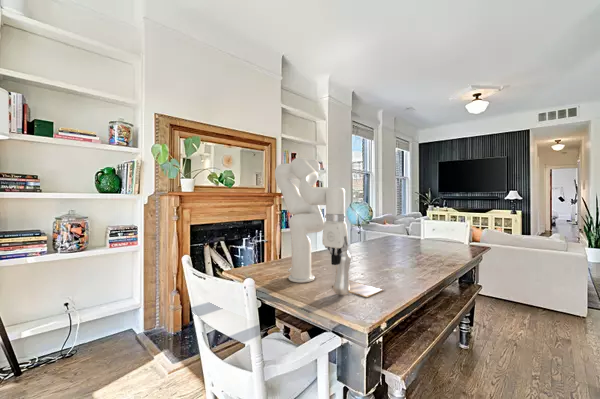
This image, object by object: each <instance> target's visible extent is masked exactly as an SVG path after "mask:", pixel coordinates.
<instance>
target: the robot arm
mask: <svg viewBox="0 0 600 399" xmlns="http://www.w3.org/2000/svg"><path fill="white" fill-rule="evenodd" d="M320 170H321V164H320V162H319V161H318V160H317V159H316V158H314V157H313V158H311V157H295V158H294V159H292V161H291V162H290V163H280V164H278V165H277V166H276V167H275V169H274V179H275V183H276V185H277V187H278V188H279V190H280V192H281V194H282V197H283V200H284V203H285V206H286V210H287V212H288V213H289V214H290V215H291V217H290V218H289V222H288V223H289V224H288V225H289V231H290V240H291V242H290V243H291V267H290V268H288V269H287V272H288V273H290V274H289V276H288V281H290V282H293V283H299V284H300V283H303V284H304V283H310V282H313V281H314V280H315V275H314V274H312V241H311V239H310V238H309V236H308V234H313V233H320V232H322V239H321V240H322V245H323V246H324V248H325V249H327V250H328V251H329V254H330V256H331V257H330V258H331V259H330V260H331V263H330V264H331V265H332V266H336V265H338V264H340V254H341V253H342V252H343V251H347V246H348V247H349V232H348V226H347V222H346V190H345V188H343V187H340V186H333V187H331V186H330V187H327V186H326V187H325V186H314V185H315V184H316V183H317V182H318V180H319V173H320ZM293 181H300V182H299V185H298V186H297V185H296V184H295V182H294V183H293ZM320 206H325V215H324V216H323V213H322V210H321V208H320ZM324 218H325V219H324Z"/></svg>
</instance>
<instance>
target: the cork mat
mask: <svg viewBox="0 0 600 399" xmlns="http://www.w3.org/2000/svg"><path fill="white" fill-rule="evenodd" d="M349 286H350V290H349V294H352V295H353V294H354V295H356V296H361V297H363V298H370V297H372V296H374V295H377V294H379V293H382V292H383V291H384V289H382V288H378V287H376V286H372V285H367V284H364V283H361V282H357V281H354V280H350V279H349ZM332 288H333V285H332Z"/></svg>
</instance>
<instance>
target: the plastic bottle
mask: <svg viewBox="0 0 600 399" xmlns="http://www.w3.org/2000/svg"><path fill="white" fill-rule="evenodd" d="M351 262H352V256H351V254H350V252H349V245H348V246H347V251H343V252H342V253H341V254H340V264H338V265H335V274H334V282H333V285H332V286H333V287H332V290H333V292H334V293H335V294H336V295H340V296H346V295H349V294H350V292H349V290H350V286H349V280H350V278H349V277H350V267H351Z"/></svg>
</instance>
